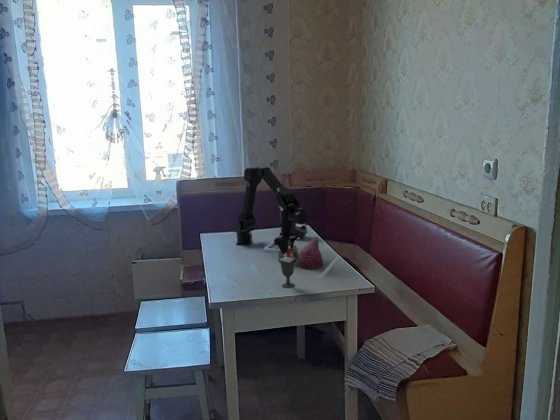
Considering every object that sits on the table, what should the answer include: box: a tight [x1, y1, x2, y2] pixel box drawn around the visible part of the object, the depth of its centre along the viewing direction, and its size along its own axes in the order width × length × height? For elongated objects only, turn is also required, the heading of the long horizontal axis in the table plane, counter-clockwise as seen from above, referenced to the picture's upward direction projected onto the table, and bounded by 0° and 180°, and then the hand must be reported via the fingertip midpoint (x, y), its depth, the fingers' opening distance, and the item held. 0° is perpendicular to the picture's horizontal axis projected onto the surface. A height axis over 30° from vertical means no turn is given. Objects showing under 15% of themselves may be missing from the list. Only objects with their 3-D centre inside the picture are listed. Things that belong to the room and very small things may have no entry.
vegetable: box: [297, 235, 324, 271], centre depth 203 cm, size 10×10×15 cm
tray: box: [263, 241, 296, 253], centre depth 230 cm, size 11×11×2 cm
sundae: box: [278, 248, 297, 289], centre depth 183 cm, size 7×7×15 cm
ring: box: [278, 247, 299, 259], centre depth 217 cm, size 7×6×3 cm
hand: (288, 255), depth 217 cm, fingers closed on ring, 6 cm apart
